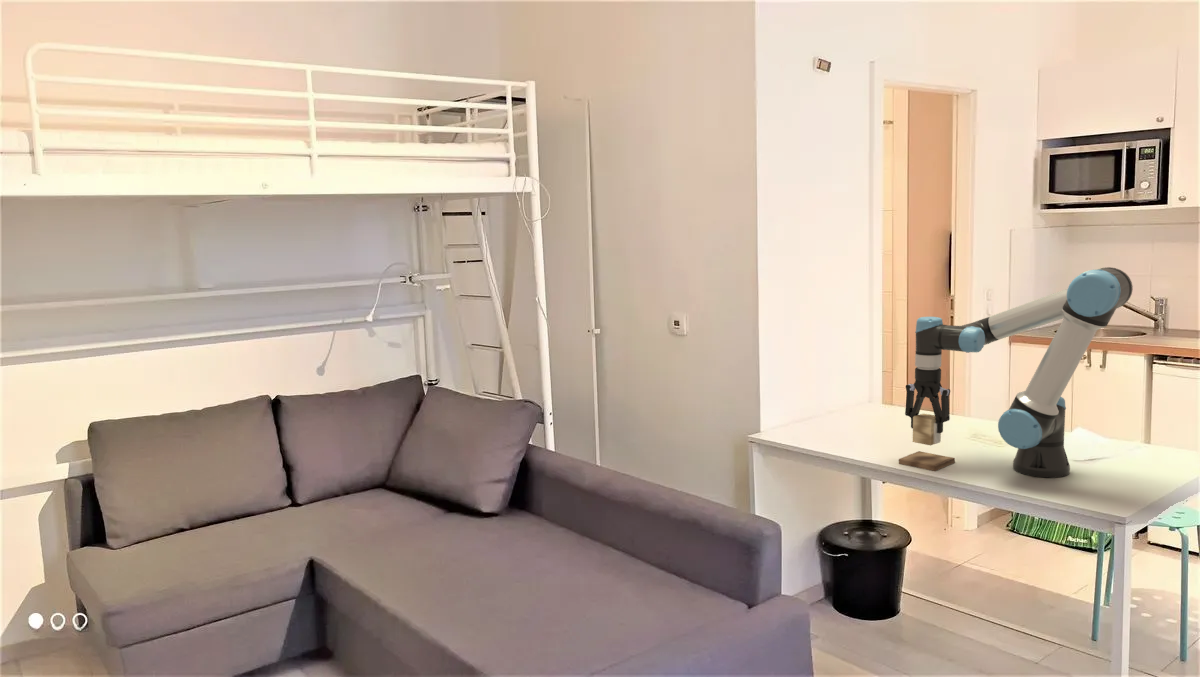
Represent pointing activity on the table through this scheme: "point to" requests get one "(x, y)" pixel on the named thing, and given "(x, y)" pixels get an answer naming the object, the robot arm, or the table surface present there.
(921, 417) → the oak block
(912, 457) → the walnut board
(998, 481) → the table surface
